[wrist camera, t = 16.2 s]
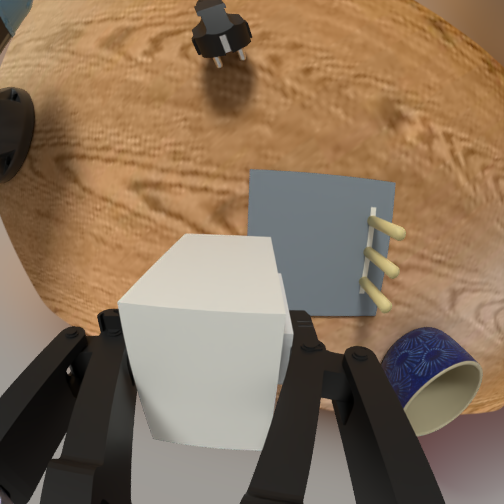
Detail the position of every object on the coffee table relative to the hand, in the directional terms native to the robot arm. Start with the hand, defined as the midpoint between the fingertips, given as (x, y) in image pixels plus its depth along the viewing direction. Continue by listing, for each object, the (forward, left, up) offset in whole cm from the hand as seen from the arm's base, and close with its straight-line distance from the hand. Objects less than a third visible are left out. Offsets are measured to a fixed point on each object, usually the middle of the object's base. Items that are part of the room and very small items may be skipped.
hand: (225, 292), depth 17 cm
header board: (+9, 0, -14) cm, 16 cm away
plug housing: (0, 0, 0) cm, 0 cm away
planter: (+25, -15, -14) cm, 32 cm away
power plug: (-5, +28, -16) cm, 33 cm away
